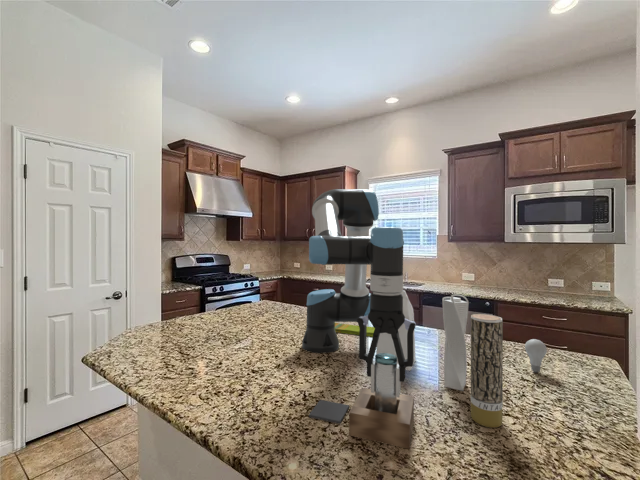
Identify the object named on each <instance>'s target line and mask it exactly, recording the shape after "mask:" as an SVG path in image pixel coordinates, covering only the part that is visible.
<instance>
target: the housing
mask: <svg viewBox="0 0 640 480" xmlns="http://www.w3.org/2000/svg"><path fill="white" fill-rule="evenodd" d="M354 400H355V401H354V402H353V404H352V406H351V408H350V410H349V411H348V436H351V437H356V438H359V439H364V440H369V441H372V442H376V443H377V442H378V443H382V444H387V445H392V446H395V447H399V448H402V449H403V448H404V449H408V450H410V447H411V441H412V435H413V434H412V433H413V424H414V418H415V417H414V416H415V407H414V406H415V396H413V395H407V394H401V393H400V396H399V397H397V414H391V413H386V412H381V411H376V410H375V392H374V393H371V388H368V387H367V388H366V387H361V388H360V391H359V393H358V395H357V396H356V399H354Z"/></svg>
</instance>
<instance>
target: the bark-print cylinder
mask: <svg viewBox="0 0 640 480" xmlns="http://www.w3.org/2000/svg"><path fill="white" fill-rule="evenodd" d="M503 323H504V322H503V317H500V316H497V315H494V314H493V315H492V314H488V313H487V314H486V313H484V314H483V313H473V314H471V315H470V417H471V419H472V420H473V422H475V423H476V424H478V425H479V426H482V427H485V428H492V429H494V428H500V427H501V426H502V425H503V406H504V405H503V402H504V401H503V400H504V399H503V397H504V396H503V391H504V389H503V387H504V386H503V381H504V380H503V378H504V377H503V372H504V370H503V369H504V368H503V348H504V347H503V344H504V343H503V341H504V339H503V329H504V328H503Z"/></svg>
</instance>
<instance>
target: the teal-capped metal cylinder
mask: <svg viewBox="0 0 640 480" xmlns="http://www.w3.org/2000/svg"><path fill="white" fill-rule="evenodd" d="M374 361H375V410H376V411H381V412H386V413H391V414H397V397H396V367H397V357H396V356H395V355H393V354H388V353H379V354H376V353H375V354H374Z"/></svg>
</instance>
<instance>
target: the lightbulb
mask: <svg viewBox="0 0 640 480" xmlns="http://www.w3.org/2000/svg"><path fill="white" fill-rule="evenodd" d="M524 349H525V352H526V354H527V355H528V358H529V359H528V360H529V363H530V370H531V371H532V372H534V373H539V372H541V366H542V363H543V359H544V358H545V357H546V355H547V352H548V350H547V349H548V348H547V346H546V344H545V343H544V342H543V341H541V340H540V339H536V338H532V339H529V340H527V341H526V342H525V345H524Z"/></svg>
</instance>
